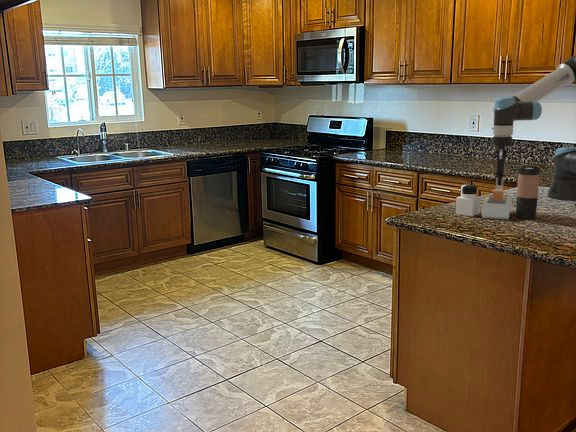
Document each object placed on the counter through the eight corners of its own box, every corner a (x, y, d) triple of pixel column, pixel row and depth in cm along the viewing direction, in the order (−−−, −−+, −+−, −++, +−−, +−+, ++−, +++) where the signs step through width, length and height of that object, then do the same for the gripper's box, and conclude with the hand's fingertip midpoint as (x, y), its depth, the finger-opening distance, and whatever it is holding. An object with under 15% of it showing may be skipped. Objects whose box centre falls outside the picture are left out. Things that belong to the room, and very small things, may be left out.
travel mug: (538, 220, 219) (542, 169, 214) (517, 219, 220) (520, 168, 216) (533, 215, 226) (537, 166, 222) (513, 215, 228) (517, 166, 223)
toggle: (503, 198, 231) (503, 189, 230) (502, 199, 229) (503, 190, 228) (492, 197, 233) (493, 188, 232) (492, 199, 230) (492, 189, 229)
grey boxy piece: (510, 212, 234) (511, 194, 232) (508, 219, 221) (509, 201, 220) (484, 210, 238) (485, 193, 236) (481, 217, 225) (482, 199, 223)
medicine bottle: (479, 213, 232) (481, 184, 229) (472, 216, 227) (473, 187, 224) (463, 211, 237) (464, 183, 234) (455, 214, 232) (456, 185, 229)
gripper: (494, 134, 239) (490, 189, 244) (491, 137, 227) (488, 194, 232) (513, 134, 236) (509, 190, 241) (511, 137, 224) (507, 195, 229)
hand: (499, 192), depth 237 cm, fingers closed
